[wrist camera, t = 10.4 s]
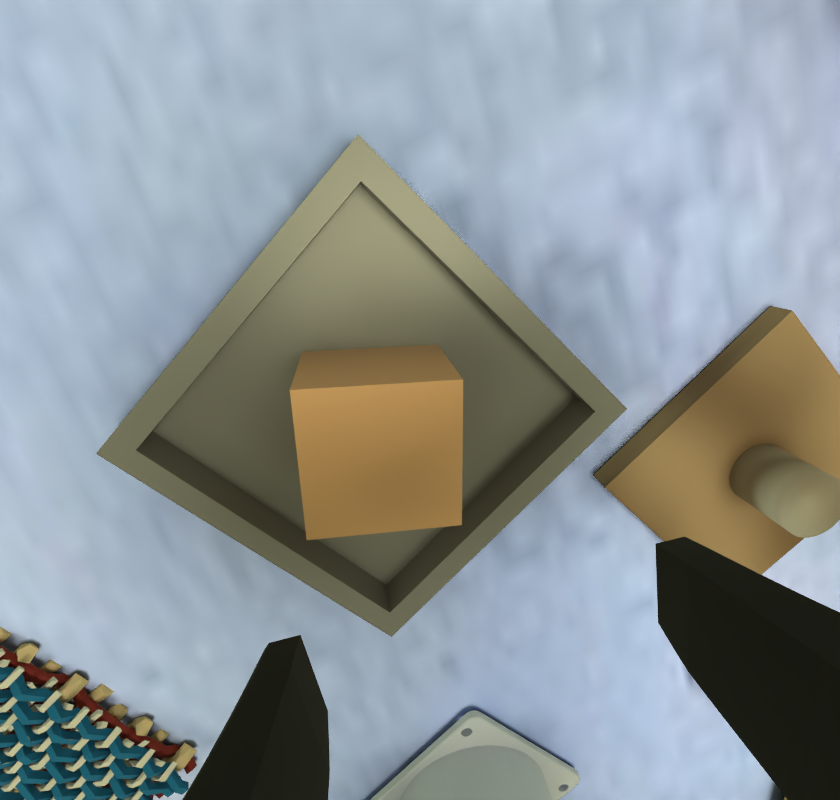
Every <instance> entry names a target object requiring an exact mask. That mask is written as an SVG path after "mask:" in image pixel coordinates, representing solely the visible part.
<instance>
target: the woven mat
mask: <svg viewBox="0 0 840 800" xmlns="http://www.w3.org/2000/svg"><path fill="white" fill-rule="evenodd" d="M10 635H11V633H10V632H8V631H6V630H5V629H3V628H1V627H0V644H1V643H2V642H3V641H4V640H6V639H7V638H8V637H9V636H10ZM38 650H39V649H38V647H37V646H36V645H34V644H33V643H24V644H21V645H20V646H19V647H18V648H17V649H16V650H14V651H13V652H11V651H9V650H7V649H6V648H4V647H2V646H0V800H153V796H154V795H156V796H157V797H158V798H161V797H162V796H163V795H165V796H167V797H169V796H170V795H172V794H173V793H174V792H175V793H179V794H183V793H184V792H186V791H187V790H188V782H186V781H183V780H182V779H181V777H180V776H179V775H178V773H177V772H178V771H180V770H181V769H183V768H184V769H185V771H186V773H187V774H188V773H189V772H190V771H192V770H193V769H194V768H195V767H196V766H197V765H196V763H195V761H194V759H193V755H194V754H195V753H196V751H197V750H195V749H194V748H193V747H191V746H189V745H188V744H186V743H185V742H184V744H183V745H182V746H181V747H180V746H179V745H177V744H175V745H170V746H166V745H164V744H162V742H163V741H164V739H165V738H166V737H167V736H168V735H169V734H168V733H167V732H165V731H164V730H162V729H160V730H158V731H157V732H155V733H154V734H152V735H151V736H149V737H148V736H147V734H148V732H149V730H150V728H151V727H152V725H153V722H152V720H151V719H150V718H148V717H147V716H143V717H137V718H136V719H135V720H134V721H132V722H131V723H130V724H128V725H127V726H126V725H125V724H123V723H122V722H121V721H120V720H121V719H122V718H123V717H124V716H125V714H126V712H127V710H128V708H127V707H125V706H124V705H122V704H118V705H113V706H111V707H110V708H109V709H108V710H107V711H106V710H105V709H104V708H102V707H101V706H100V705H98V704H99V703H100V702H102V701H103V700H104V699H105V698H107V697H108V696H109V695H111V694H112V693H113V692H114V691H113V690H111V689H109V688H108V687H106V686H105V685H103V684H100V685H99V686H98V687H97V688H95V689H94V690H93V691H91V692H90V693H89V694H88V695H87V693H86V691H85V688H84V686H85V685H86V684H87V683H88V682H89V681H88V680H86V679H85V678H83V677H82V676H80V675H79V674H77V673H75V674H74V675H73V676H72V677H71V678H70V677H69V676H68V675H66V674H54V673H55V672H56V671H57V670H59V669H60V668H61V667H62V666H60V665H59V664H57V663H56V662H54V661H53V660H49V661H48V662H47V663H45V664H44V665H43V666H41V667H40V668H38V667H36V666H34V665H33V664H31V663H30V662H31V660H32V659H33V657H34V656H35V655H36V653H37V652H38ZM24 678H25V679H24ZM39 685H43V686H42V687H41V688H36V687H37V686H39ZM51 687H54V688H53V689H52V690H50V688H51ZM5 688H6V689H8V690H6V689H5ZM72 698H73V700H74V702H75V705H73V704H69V703H68V702H69V701H70V700H71V699H72ZM70 728H73V729H70ZM133 745H134V746H133ZM7 747H13V748H7ZM152 755H155V756H158V757H162V758H161V759H160V760H159V759H157V758H154V759H152V757H151V756H152ZM107 766H109V767H107ZM127 779H133V780H127ZM160 781H162V782H160Z"/></svg>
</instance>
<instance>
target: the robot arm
mask: <svg viewBox="0 0 840 800" xmlns="http://www.w3.org/2000/svg"><path fill="white" fill-rule="evenodd" d="M656 568H657V598H658V623H659V624H660V626H661V628H662V630H663V631H664V633H665V635H666V636H667V638H668V640H669V641H670V643H671V645H672V646H673V648H674V650H675V651H676V653H677V654H678V656H679V657H680V659H681V661H682V662H683V664H684V665H685V667H686V669H687V670H688V672H689V673H690V674H691V676H692V677H693V678H694V680H695V681H696V682H697V684H698V685H699V686H700V688H701V689H702V690H703V691H704V693H705V694H706V695H707V697H708V698H709V699H710V701H711V702H712V703H713V704H714V706H715V707H716V708H717V710H718V711H719V712H720V713H721V715H722V716H723V717H724V719H725V720H726V721H727V722H728V724H729V725H730V726H731V727H732V729H733V730H734V731H735V733H736V734H737V735H738V736H739V738H740V739H741V740H742V742H743V743H744V744H745V745H746V747H747V748H748V749H749V750H750V752H751V753H752V754H753V756H754V757H755V758H756V759H757V761H758V762H759V763H760V765H761V766H762V767H763V768H764V770H765V771H766V772H767V774H768V775H769V776H770V777H771V779H772V780H773V781H774V782H775V784H776V785H777V786H778V788H779V789H780V790H781V791H782V793H783V794H784V796H785V797H786V798H787V800H840V613H839V612H837V611H835V610H833V609H831V608H829V607H827V606H824V605H822V604H820V603H818V602H816V601H814V600H812V599H809V598H807V597H805V596H803V595H801V594H799V593H797V592H795V591H793V590H791V589H789V588H787V587H785V586H783V585H781V584H779V583H777V582H774V581H772V580H770V579H768V578H766V577H764V576H762V575H760V574H758V573H757V572H755V571H753V570H751V569H749V568H747V567H745V566H743V565H741V564H739V563H737V562H735V561H733V560H731V559H729V558H727V557H725V556H723V555H721V554H719V553H717V552H715V551H713V550H711V549H709V548H707V547H705V546H703V545H701V544H699V543H697V542H695V541H693V540H691V539H689V538H687V537H681V538H677V539H673V540H669V541H665V542H661V543H657V544H656ZM329 771H330V770H329V734H328V711H327V708H326V705H325V702H324V699H323V697H322V694H321V691H320V688H319V685H318V683H317V680H316V677H315V674H314V672H313V669H312V666H311V663H310V660H309V658H308V655H307V652H306V649H305V646H304V644H303V641H302V638H301V635H299V636H295V637H291V638H287V639H283V640H279V641H275V642H271V643H269V644H268V645H267V647H266V648H265V650H264V652H263V654H262V656H261V658H260V660H259V662H258V664H257V666H256V668H255V670H254V672H253V674H252V675H251V677H250V679H249V681H248V683H247V685H246V687H245V689H244V691H243V693H242V695H241V697H240V699H239V701H238V703H237V704H236V706H235V708H234V710H233V712H232V714H231V716H230V718H229V720H228V721H227V723H226V725H225V727H224V729H223V730H222V732H221V734H220V736H219V738H218V739H217V741H216V743H215V745H214V747H213V749H212V750H211V752H210V754H209V756H208V758H207V759H206V761H205V763H204V765H203V766H202V768H201V770H200V771H199V773H198V775H197V776H196V778H195V780H194V781H193V783H192V785H191V786H190V788H189V790H188V791H187V793H186V795H185V796H184V798H183V800H328V787H329ZM579 780H580V778H579V775H578V773H577V771H576V770H575V769H574V768H573V767H571V766H569V765H568V764H566V763H564V762H563V761H561V760H559V759H558V758H556V757H554V756H553V755H551V754H549V753H548V752H546V751H544V750H543V749H541V748H539V747H538V746H536V745H534V744H533V743H531V742H529V741H528V740H526V739H524V738H523V737H521V736H519V735H518V734H516V733H514V732H513V731H511V730H509V729H508V728H506V727H504V726H503V725H501V724H499V723H498V722H496V721H494V720H493V719H491V718H489V717H488V716H486V715H484V714H483V713H481V712H479V711H469V712H467V713H466V714H465V715H464V716H462V717H461V718H460V719H459V720H458V721H457V722H456V723H455V724H454V725H452V726H451V727H450V728H449V729H448V730H447V731H446V732H445V733H444V734H442V735H441V736H440V737H439V738H438V739H437V740H436V741H435V742H434V743H432V744H431V745H430V746H429V747H428V748H427V749H426V750H425V751H424V752H422V753H421V754H420V755H419V756H418V757H417V758H416V759H415V760H414V761H412V762H411V763H410V764H409V765H408V766H407V767H406V768H405V769H404V770H402V771H401V772H400V773H399V774H398V775H397V776H396V777H395V778H394V779H392V780H391V781H390V782H389V783H388V784H387V785H386V786H385V787H384V788H382V789H381V790H380V791H379V792H378V793H377V794H376V795H375V796H374V797H372V798H371V799H370V800H559V799H560V798H561V797H563V796H564V795H565V794H566V793H567V792H569V791H570V790H571V789H572V788H574V787H575V786H576V785H577V784H578V782H579Z"/></svg>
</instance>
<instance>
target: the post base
mask: <svg viewBox="0 0 840 800" xmlns="http://www.w3.org/2000/svg"><path fill="white" fill-rule="evenodd" d="M594 476H595V478H596V479H597V480H598V481H599V482H600V483H601V484H602V485H603V486H604V487H605V488H606V489H607V490H608V491H610V492H611V493H612V494H613V495H614V496H615V497H616V498H617V499H618V500H619V501H620V502H622V503H623V504H624V505H625V506H626V507H627V508H628V509H629V510H630V511H631V512H632V513H634V514H635V515H636V516H637V517H638V518H639V519H640V520H641V521H642V522H643V523H645V524H646V525H647V526H648V527H649V528H650V529H651V530H652V531H653V532H654V533H655V534H657V535H658V536H659V537H660V538H661V539H662V540H663V541H664V542H665V541H669V540H673V539H677V538H681V537H687V538H689V539H691V540H693V541H695V542H697V543H699V544H701V545H703V546H705V547H707V548H709V549H711V550H713V551H715V552H717V553H719V554H721V555H723V556H725V557H727V558H729V559H731V560H733V561H735V562H737V563H739V564H741V565H743V566H745V567H747V568H749V569H751V570H753V571H755V572H757V573H758V574H760V575H761V574H763V573H764V572H765V571H766V570H767V569H768V568H770V567H771V566H772V565H773V564H774V563H775V562H777V561H778V560H779V559H780V558H781V557H783V556H784V555H785V554H786V553H787V552H788V551H790V550H791V549H792V548H793V547H794V546H795V545H797V544H798V543H799V542H800V541H801V540H803V539H804V538H807V537H813V536H817V535H819V534H822V533H824V532H825V531H827V530H828V529H830V528H831V527H832V526H834V525H835V524H836V523H837V522H838V520H839V519H840V375H839V374H838V372H837V371H836V370H835V368H834V367H833V365H832V364H831V363H830V361H829V360H828V359H827V357H826V356H825V355H824V353H823V352H822V350H821V349H820V348H819V346H818V345H817V344H816V342H815V341H814V339H813V338H812V337H811V335H810V334H809V333H808V331H807V330H806V329H805V327H804V326H803V324H802V323H801V322H800V320H799V319H798V318H797V316H796V315H795V314H794V312H793V311H791V310H787V309H782V308H777V307H772V306H770V307H769V308H768V309H767V310H766V311H765V312H764V313H763V314H762V315H761V316H759V317H758V318H757V319H756V320H755V321H754V322H753V323H752V324H751V325H750V326H749V327H748V328H747V329H746V330H745V331H744V332H743V333H742V334H741V335H740V336H739V337H737V338H736V339H735V340H734V341H733V342H732V343H731V344H730V345H729V346H728V347H727V348H726V349H725V350H724V351H723V352H722V353H721V354H720V355H719V356H718V357H716V358H715V359H714V360H713V361H712V362H711V363H710V364H709V365H708V366H707V367H706V368H705V369H704V370H703V371H702V372H701V373H700V374H699V375H698V376H697V377H695V378H694V379H693V380H692V381H691V382H690V383H689V384H688V385H687V386H686V387H685V388H684V389H683V390H682V391H681V392H680V393H679V394H678V395H677V396H676V397H674V398H673V399H672V400H671V401H670V402H669V403H668V404H667V405H666V406H665V407H664V408H663V409H662V410H661V411H660V412H659V413H658V414H657V415H656V416H655V417H654V418H652V419H651V420H650V421H649V422H648V423H647V424H646V425H645V426H644V427H643V428H642V429H641V430H640V431H639V432H638V433H637V434H636V435H635V436H634V437H633V438H631V439H630V440H629V441H628V442H627V443H626V444H625V445H624V446H623V447H622V448H621V449H620V450H619V451H618V452H617V453H616V454H615V455H614V456H613V457H612V458H610V459H609V460H608V461H607V462H606V463H605V464H604V465H603V466H602V467H601V468H600V469H599V470H598V471H597V472H596V473H595V474H594Z"/></svg>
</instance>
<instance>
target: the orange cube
mask: <svg viewBox="0 0 840 800" xmlns="http://www.w3.org/2000/svg"><path fill="white" fill-rule="evenodd" d="M290 397H291V406H292V415H293V423H294V432H295V441H296V450H297V459H298V468H299V477H300V486H301V495H302V503H303V512H304V521H305V530H306V539H307V540H313V539H324V538H334V537H344V536H355V535H365V534H375V533H386V532H396V531H406V530H417V529H427V528H437V527H448V526H458V525H462V463H463V378H462V377H461V376H460V374H459V373H458V372H457V370H456V369H455V367H454V366H453V365H452V363H451V362H450V361H449V359H448V358H447V356H446V355H445V354H444V352H443V351H442V350H441V348H440V347H439V346H438V344H437V345H418V346H399V347H380V348H361V349H341V350H322V351H303V352H302V353H301V357H300V360H299V363H298V366H297V369H296V372H295V375H294V378H293V382H292V385H291V388H290Z"/></svg>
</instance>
